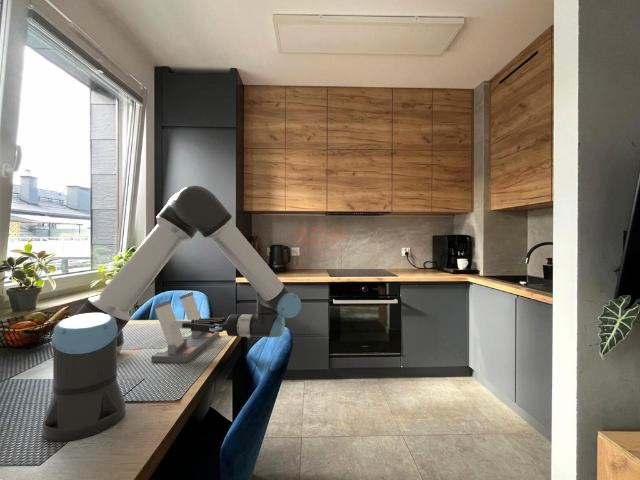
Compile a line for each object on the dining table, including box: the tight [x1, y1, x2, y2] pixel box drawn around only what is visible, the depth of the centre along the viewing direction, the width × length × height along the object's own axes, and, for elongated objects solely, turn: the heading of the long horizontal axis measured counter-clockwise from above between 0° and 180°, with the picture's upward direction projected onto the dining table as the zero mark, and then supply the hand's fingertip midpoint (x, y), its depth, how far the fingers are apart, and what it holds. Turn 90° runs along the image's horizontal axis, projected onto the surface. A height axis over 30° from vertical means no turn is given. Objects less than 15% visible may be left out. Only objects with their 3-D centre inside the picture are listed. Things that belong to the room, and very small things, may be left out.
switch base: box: [151, 330, 220, 364], centre depth 122 cm, size 12×30×5 cm, turn 177°
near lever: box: [152, 299, 184, 351], centre depth 113 cm, size 3×6×18 cm, turn 177°
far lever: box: [178, 291, 203, 335], centre depth 131 cm, size 3×6×18 cm, turn 177°
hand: (175, 324), depth 113 cm, fingers closed
